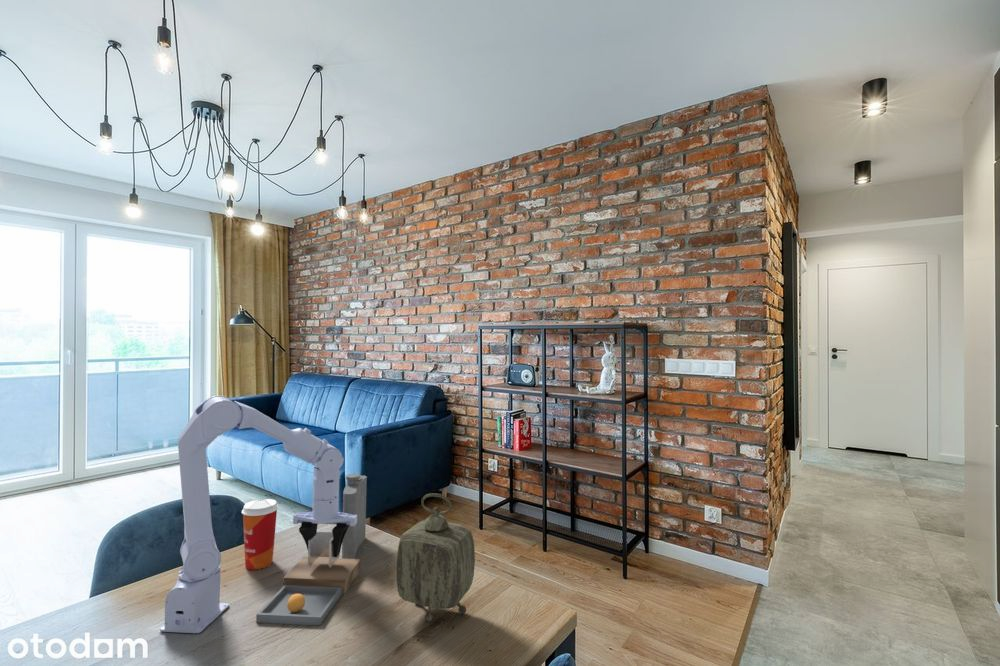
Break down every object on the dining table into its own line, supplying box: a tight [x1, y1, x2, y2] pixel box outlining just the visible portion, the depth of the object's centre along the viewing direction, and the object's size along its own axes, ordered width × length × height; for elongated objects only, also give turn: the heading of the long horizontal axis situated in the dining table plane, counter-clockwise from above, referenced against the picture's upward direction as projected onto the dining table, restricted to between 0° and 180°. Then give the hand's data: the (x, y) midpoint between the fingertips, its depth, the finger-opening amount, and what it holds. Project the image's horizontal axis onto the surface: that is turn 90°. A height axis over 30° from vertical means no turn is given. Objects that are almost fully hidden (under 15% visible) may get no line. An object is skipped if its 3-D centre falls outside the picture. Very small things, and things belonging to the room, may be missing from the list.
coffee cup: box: [241, 498, 279, 571], centre depth 117 cm, size 8×8×15 cm
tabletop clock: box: [396, 492, 476, 623], centre depth 97 cm, size 14×9×25 cm, turn 70°
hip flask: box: [341, 473, 368, 559], centre depth 127 cm, size 16×4×20 cm, turn 4°
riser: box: [282, 556, 361, 595], centre depth 110 cm, size 10×14×3 cm
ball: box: [287, 594, 305, 613], centre depth 97 cm, size 3×3×3 cm
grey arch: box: [307, 530, 340, 567], centre depth 110 cm, size 5×5×6 cm
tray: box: [255, 585, 343, 626], centre depth 99 cm, size 11×13×2 cm
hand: (324, 554), depth 111 cm, fingers closed on grey arch, 5 cm apart
